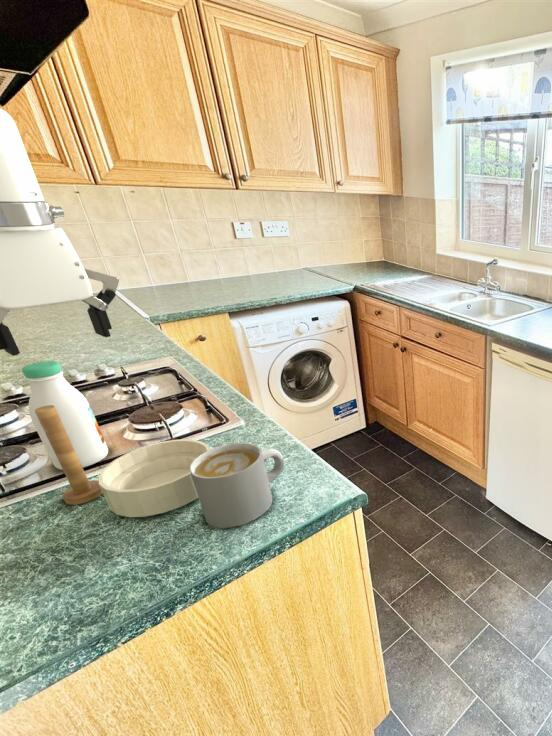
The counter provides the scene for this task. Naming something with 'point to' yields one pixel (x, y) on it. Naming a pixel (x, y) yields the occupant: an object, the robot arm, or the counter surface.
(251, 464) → the coffee mug
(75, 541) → the counter surface
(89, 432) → the milk bottle
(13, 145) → the robot arm
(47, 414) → the wooden masher
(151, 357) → the counter surface
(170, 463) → the bowl
